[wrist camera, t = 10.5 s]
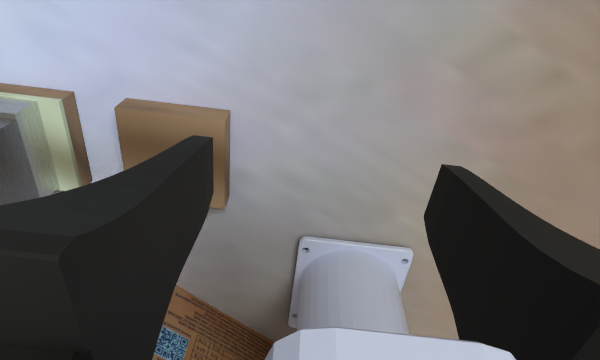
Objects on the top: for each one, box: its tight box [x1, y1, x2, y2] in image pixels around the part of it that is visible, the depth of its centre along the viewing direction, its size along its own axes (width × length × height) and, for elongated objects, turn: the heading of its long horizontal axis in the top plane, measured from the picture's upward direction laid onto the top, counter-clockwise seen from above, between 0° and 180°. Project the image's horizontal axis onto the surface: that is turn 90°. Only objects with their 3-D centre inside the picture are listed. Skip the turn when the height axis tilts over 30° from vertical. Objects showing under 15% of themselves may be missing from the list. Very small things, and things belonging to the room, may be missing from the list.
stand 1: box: [0, 83, 92, 191], centre depth 23 cm, size 6×6×2 cm
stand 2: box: [114, 98, 230, 209], centre depth 23 cm, size 6×6×2 cm
